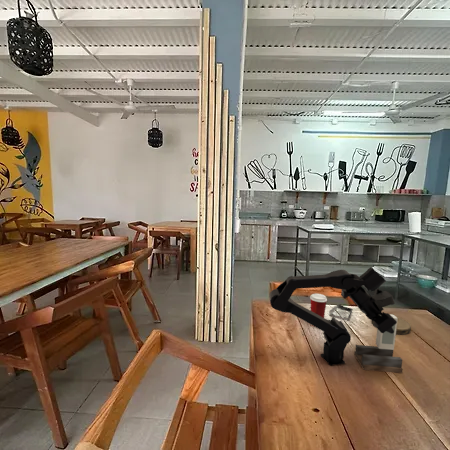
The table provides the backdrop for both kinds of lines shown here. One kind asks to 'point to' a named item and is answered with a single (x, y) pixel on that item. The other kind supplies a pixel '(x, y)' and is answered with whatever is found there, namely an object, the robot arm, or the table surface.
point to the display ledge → (377, 359)
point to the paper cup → (318, 304)
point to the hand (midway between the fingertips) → (390, 330)
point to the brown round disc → (401, 326)
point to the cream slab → (386, 338)
